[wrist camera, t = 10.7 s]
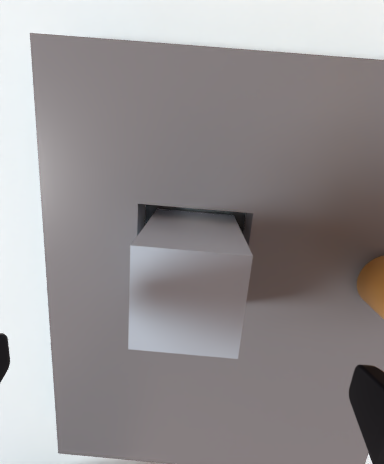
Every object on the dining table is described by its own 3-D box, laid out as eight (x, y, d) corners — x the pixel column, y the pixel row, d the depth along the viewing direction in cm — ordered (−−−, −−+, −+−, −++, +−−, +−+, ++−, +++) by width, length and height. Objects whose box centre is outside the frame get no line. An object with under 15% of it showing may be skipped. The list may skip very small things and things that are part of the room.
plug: (225, 284, 16) (238, 358, 11) (154, 278, 16) (127, 349, 11) (233, 214, 15) (253, 255, 9) (157, 208, 15) (130, 245, 9)
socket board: (343, 447, 19) (359, 481, 17) (72, 423, 19) (58, 453, 18) (452, 80, 13) (495, 68, 11) (54, 49, 13) (30, 33, 11)
